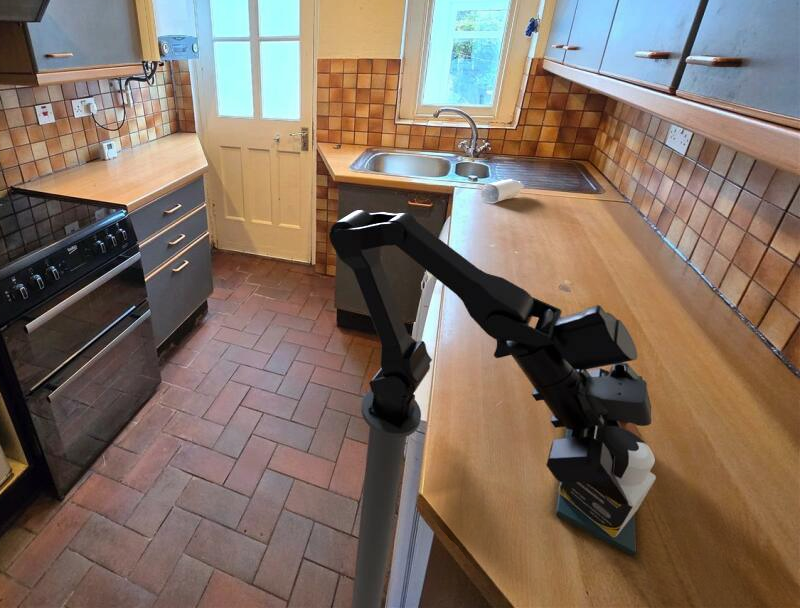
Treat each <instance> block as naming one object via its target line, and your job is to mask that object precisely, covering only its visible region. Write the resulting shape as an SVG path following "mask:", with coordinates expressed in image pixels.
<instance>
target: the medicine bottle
mask: <svg viewBox="0 0 800 608" xmlns="http://www.w3.org/2000/svg"><path fill="white" fill-rule="evenodd" d="M596 439H597V440H599V441H601V442H603V443H604V445H605V446H606V447H607V449H608V450H609V453H610V455H615V463H614V472H613V474H614V475H615V477H616V479H617V481H618V482H619V484H620V486H621V488H622V490H623V491H624V493H625V495H626V497H627V500H628V504H627V505H624V504H618V503H616V502H615V501H613V500H612V499H610V498H609V497H607V496H605V495H604V494H602V493H601V492H599V491H597V490H596V489H594V488H593V487H591V486H589V485H588V484H586V483H584V482H561V485H560V487H559V486H558V490H557V491H558V492H559V493H560V494H561V495H562V496H564V497H565V498H566V499H567V500H568V501H570V502H571V503H572V504H573V505H574V506H576V507H577V508H578V509H579V510H580V511H582V512H583V513H584V514H585V515H586V516H588V517H589V518H590V519H591V520H592V521H594V522H595V523H596V524H597V525H598V526H600V527H601V528H602V529H603V530H604V531H606V532H607V533H608V534H609V535H610V536H612V537H616V536H617V535H618V534H619V532H620V531H621V530H622V529H623V527H624V526H625V525H626V524H627V522H628V521H629V520H630V518H631V517H632V516H633V515H634V516H635V513H636V512H637V511H638V510H639V508H640V507H641V505H642V503H643V501H644V499H645V498H646V496H647V495H648V493H649V491H650V489H651V487H653V484H654V483H655V481H656V479H657V476H656V475H655V474H654V473H653V472H651V470H652V468H653V467H654V465H655V462H656V459H655V456H654V452H653V451H652V449H651V448H650V447H649V445H648V444H647V443H646V441H644V440H643V439H642V438H641V437H640V438H639V437H638V436H637V435H635V434H633V433H632V432H630V431H628V430H626V429H623V428H620V427H617V426H602V427H600V428H598V429H597V434H596Z"/></svg>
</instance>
